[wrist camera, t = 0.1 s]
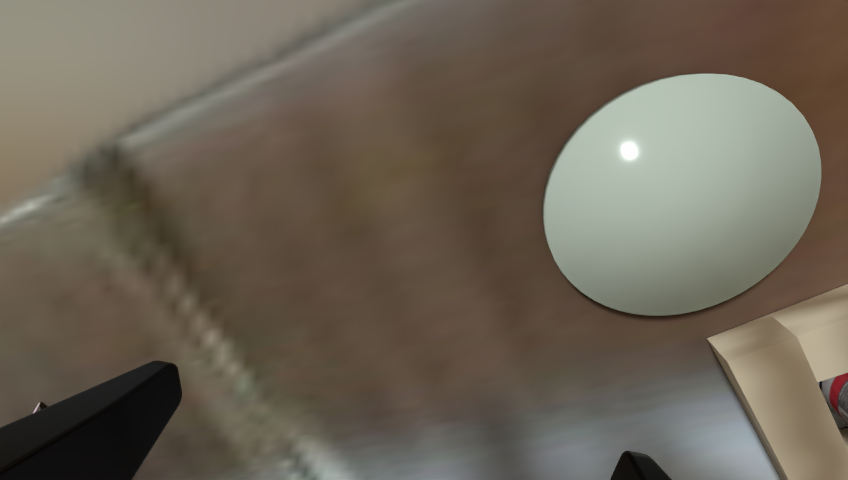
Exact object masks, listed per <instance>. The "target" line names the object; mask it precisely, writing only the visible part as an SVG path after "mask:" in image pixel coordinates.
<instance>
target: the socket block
mask: <svg viewBox="0 0 848 480" xmlns="http://www.w3.org/2000/svg"><path fill="white" fill-rule="evenodd" d="M707 340H708V342H709V344H710V345H711V347H712V349H713V351H714V353H715V355H716V357H717V359H718V361H719V362H720V364H721V366H722V368H723V370H724V372H725V374H726V376H727V378H728V380H729V381H730V383H731V385H732V387H733V389H734V391H735V393H736V395H737V397H738V398H739V400H740V402H741V404H742V406H743V408H744V410H745V412H746V414H747V416H748V417H749V419H750V421H751V423H752V425H753V427H754V429H755V431H756V433H757V434H758V436H759V438H760V440H761V442H762V444H763V446H764V448H765V450H766V452H767V453H768V455H769V457H770V459H771V461H772V463H773V465H774V467H775V469H776V470H777V472H778V474H779V476H780V478H781V480H848V427H847V428H844V429H840V430H839V429H838V427H837V425H836V423H835V420H834V418H833V416H832V414H831V412H830V409H829V407H828V405H827V403H826V400H825V398H824V396H823V394H822V391H821V389H820V387H819V385H818V383H817V382H820V381H824V380H827V379H830V378H833V377H836V376H839V375H842V374H845V373H848V284H847V285H844V286H842V287H839V288H836V289H834V290H831V291H829V292H826V293H823V294H821V295H818V296H816V297H813V298H810V299H808V300H805V301H803V302H800V303H797V304H795V305H792V306H790V307H787V308H784V309H782V310H779V311H777V312H774V313H771V314H769V315H766V316H764V317H761V318H758V319H756V320H753V321H751V322H748V323H746V324H743V325H740V326H738V327H735V328H733V329H730V330H727V331H725V332H722V333H720V334H717V335H714V336H712V337H709V338H707Z"/></svg>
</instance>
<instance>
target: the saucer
mask: <svg viewBox="0 0 848 480" xmlns="http://www.w3.org/2000/svg"><path fill="white" fill-rule="evenodd" d="M820 184H821V159H820V154H819V148H818V145H817V142H816V139H815V137H814V134H813V131H812V129H811V128H810V126H809V124H808V123H807V121H806V119H805V118H804V116H803V115H802V114H801V113H800V112H799V111H798V109H797V108H796V107H795V106H794V105H793V104H792V103H791V102H790V101H788V100H787V99H786V98H785V97H783V96H782V95H781V94H779V93H778V92H776V91H774V90H772V89H771V88H769V87H767V86H765V85H763V84H760V83H758V82H755V81H752V80H749V79H746V78H742V77H736V76H731V75H725V74H687V75H675V76H670V77H666V78H661V79H656V80H653V81H650V82H647V83H644V84H641V85H638V86H636V87H634V88H632V89H630V90H628V91H626V92H623V93H621V94H619V95H618V96H616V97H615V98H613V99H611V100H610V101H608V102H607V103H605V104H603V105H602V106H601V107H600V108H598V109H597V110H596V111H595V112H593V113H592V114H591V115H589V116H588V117H587V118H586V119H585V120H584V121H583V122H582V123H581V124H580V125H579V126H578V127H577V128H576V129H575V131H574V132H573V133H572V134H571V136H570V137H569V138H568V139H567V141H566V142H565V143H564V145H563V147H562V148H561V150H560V152H559V153H558V155H557V156H556V158H555V161H554V163H553V165H552V167H551V169H550V171H549V175H548V178H547V181H546V184H545V188H544V194H543V200H542V220H543V229H544V233H545V236H546V240H547V243H548V246H549V248H550V250H551V253H552V255H553V257H554V260H555V262H556V263H557V265H558V267H559V268H560V270H561V271H562V273H563V274H564V275H565V276H566V278H567V279H568V280H569V281H570V282H571V283H572V284H573V285H574V286H575V287H576V288H577V289H578V290H580V291H581V292H582V293H583V294H585V295H586V296H588V297H589V298H591V299H593V300H594V301H596V302H598V303H601V304H603V305H605V306H607V307H610V308H613V309H616V310H619V311H623V312H627V313H632V314H639V315H648V316H665V315H675V314H683V313H688V312H693V311H698V310H701V309H704V308H708V307H711V306H714V305H716V304H719V303H721V302H724V301H726V300H728V299H731V298H732V297H734V296H736V295H738V294H740V293H742V292H744V291H745V290H747V289H748V288H750V287H752V286H753V285H755V284H756V283H758V282H759V281H760V280H762V279H763V278H764V277H765V276H767V275H768V274H769V273H770V272H771V271H773V270H774V269H775V268H776V267H777V266H778V265H779V264H780V263H781V262H782V261H783V260H784V259H785V258H786V257H787V255H788V254H789V253H790V252H791V250H792V249H793V248H794V247H795V245H796V244H797V243H798V241H799V239H800V238H801V236H802V235H803V233H804V231H805V230H806V228H807V226H808V224H809V222H810V219H811V217H812V215H813V213H814V210H815V207H816V203H817V200H818V197H819V191H820Z"/></svg>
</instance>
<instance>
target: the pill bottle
mask: <svg viewBox="0 0 848 480" xmlns="http://www.w3.org/2000/svg"><path fill="white" fill-rule="evenodd" d="M822 393H823V396H824V398H825V400H826V401H827V403H828V404H829V405H830V406H831V407H832V408H833V409H834V410H835V411H836V412H837V413H838V414H839V415H840V416H841V417H842V418H843V419H844V420H845V421H846V422H847V423H848V373H845V374H842V375H839V376H836V377H833V378H830V379H827V380H824V381H822Z"/></svg>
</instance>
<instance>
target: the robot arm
mask: <svg viewBox="0 0 848 480" xmlns="http://www.w3.org/2000/svg"><path fill="white" fill-rule="evenodd" d="M181 398H182V389H181V384H180V378H179V372H178V368H177V366H176V365H175V364H173V363H168V362H163V361H152V362H150V363H147V364H145V365H143V366H141V367H138V368H136V369H134V370H131V371H129V372H127V373H124V374H122V375H120V376H118V377H115V378H113V379H111V380H108V381H106V382H104V383H102V384H99V385H97V386H95V387H92V388H90V389H88V390H86V391H83V392H81V393H79V394H76V395H74V396H72V397H69V398H67V399H65V400H63V401H60V402H58V403H56V404H53V405H51V406H49V407H47V408H44V409H42V410H40V411H37V412H35V413H33V414H31V415H28V416H26V417H24V418H21V419H19V420H17V421H14V422H12V423H10V424H8V425H5V426H3V427H1V428H0V480H132V478H133V477H134V475H135V474H136V472H137V471H138V469H139V468H140V466H141V465H142V463H143V461H144V460H145V458H146V457H147V455H148V453H149V452H150V450H151V449H152V447H153V445H154V444H155V442H156V441H157V439H158V438H159V436H160V434H161V433H162V431H163V430H164V428H165V426H166V425H167V423H168V422H169V420H170V419H171V417H172V415H173V414H174V412H175V411H176V409H177V407H178V406H179V404H180V401H181ZM611 480H671V478H670V477H669V476H668V475H667V474H666V473H665V472H664V471H663V470H662V469H661V468H660V467H659V466H658V465H657V463H656V462H655V461H654V460H653V459H652V458H651V457H649V456H648V455H646V454H641V453H636V452H631V451H625V452H624V453H623V454H622V455H621V457H620V459H619V461H618V464H617V466H616V468H615V470H614V472H613V475H612V477H611Z"/></svg>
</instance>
